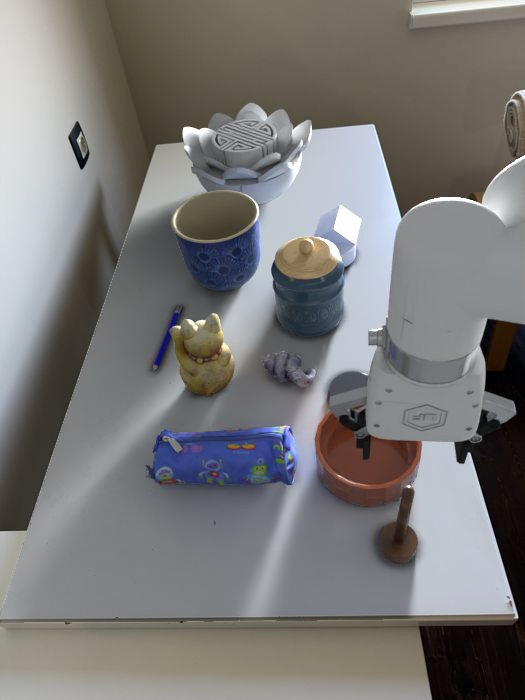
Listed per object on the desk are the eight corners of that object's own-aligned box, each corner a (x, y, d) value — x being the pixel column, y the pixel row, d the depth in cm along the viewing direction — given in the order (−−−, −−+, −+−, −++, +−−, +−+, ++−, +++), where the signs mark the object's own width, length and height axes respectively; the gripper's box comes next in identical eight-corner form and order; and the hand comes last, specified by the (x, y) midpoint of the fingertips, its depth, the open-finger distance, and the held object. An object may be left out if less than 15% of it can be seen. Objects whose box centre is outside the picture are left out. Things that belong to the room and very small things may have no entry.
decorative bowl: (164, 203, 138) (148, 147, 127) (244, 150, 152) (236, 95, 141) (254, 246, 124) (246, 187, 112) (334, 182, 137) (334, 124, 126)
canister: (286, 345, 103) (278, 273, 90) (269, 300, 112) (260, 227, 99) (353, 329, 104) (355, 254, 91) (331, 285, 113) (330, 211, 100)
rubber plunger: (424, 547, 76) (440, 490, 64) (398, 571, 74) (410, 517, 62) (396, 521, 79) (407, 461, 67) (371, 543, 77) (377, 487, 65)
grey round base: (387, 392, 94) (387, 390, 93) (352, 419, 91) (352, 417, 91) (353, 366, 98) (353, 363, 98) (319, 390, 96) (319, 388, 95)
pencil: (178, 307, 113) (177, 304, 112) (182, 307, 113) (181, 304, 112) (152, 372, 102) (151, 368, 101) (157, 372, 102) (155, 369, 101)
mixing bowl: (438, 466, 84) (444, 444, 79) (366, 529, 79) (367, 510, 74) (365, 405, 93) (367, 382, 88) (296, 458, 87) (293, 437, 83)
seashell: (316, 387, 98) (265, 372, 101) (322, 358, 96) (270, 343, 100) (305, 394, 93) (252, 377, 97) (311, 363, 92) (257, 348, 95)
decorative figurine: (231, 359, 102) (218, 299, 91) (244, 392, 97) (232, 333, 86) (180, 375, 101) (160, 317, 90) (191, 410, 96) (172, 352, 84)
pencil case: (154, 496, 85) (137, 464, 78) (163, 447, 91) (148, 414, 84) (298, 496, 83) (294, 463, 76) (298, 446, 89) (295, 411, 82)
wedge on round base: (320, 229, 125) (308, 266, 117) (319, 203, 120) (307, 241, 112) (360, 232, 123) (351, 270, 115) (361, 206, 118) (352, 244, 110)
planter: (283, 270, 117) (277, 209, 106) (223, 315, 110) (210, 254, 99) (228, 240, 126) (218, 180, 115) (170, 279, 119) (153, 219, 108)
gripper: (325, 375, 46) (328, 477, 58) (551, 379, 43) (503, 486, 56) (328, 310, 50) (330, 418, 63) (531, 310, 48) (491, 423, 61)
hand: (411, 449), depth 59 cm, fingers open, 9 cm apart
